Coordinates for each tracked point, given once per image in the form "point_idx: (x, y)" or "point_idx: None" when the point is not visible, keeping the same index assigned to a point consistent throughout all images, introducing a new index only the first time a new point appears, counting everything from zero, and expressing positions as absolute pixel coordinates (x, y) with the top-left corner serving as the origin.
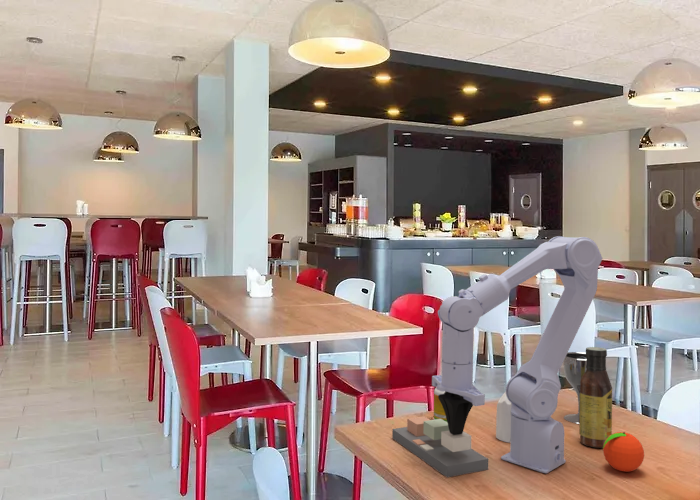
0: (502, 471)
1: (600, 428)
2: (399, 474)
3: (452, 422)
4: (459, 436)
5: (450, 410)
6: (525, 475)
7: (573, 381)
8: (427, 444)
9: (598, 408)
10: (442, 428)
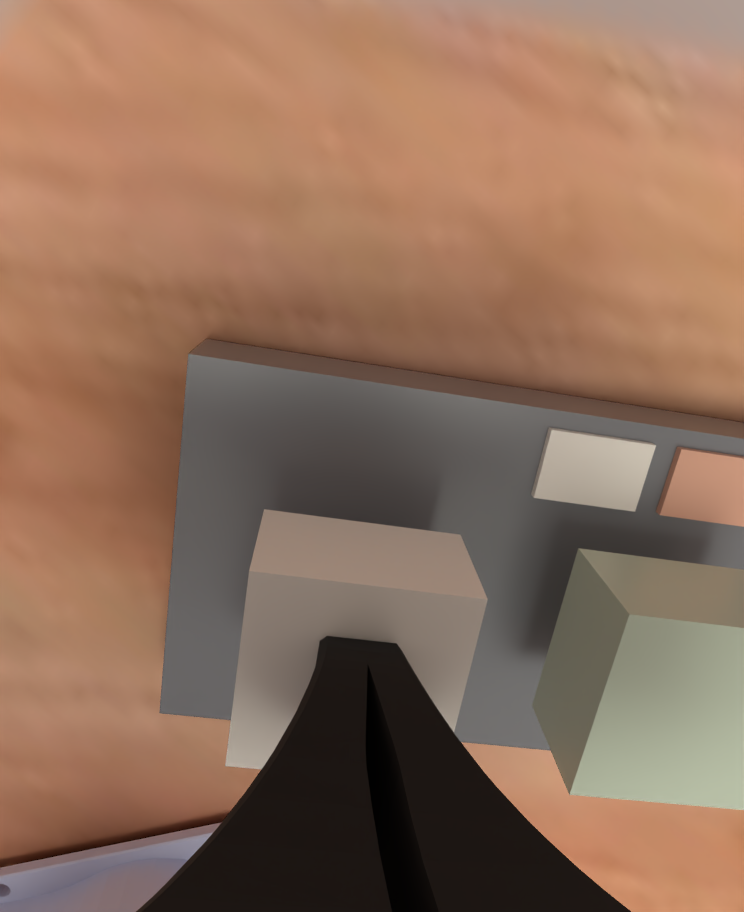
0: (114, 713)
1: None
2: (454, 27)
3: (299, 712)
4: (270, 663)
5: (292, 842)
6: (3, 780)
7: None
8: (628, 509)
9: None
10: (589, 687)
